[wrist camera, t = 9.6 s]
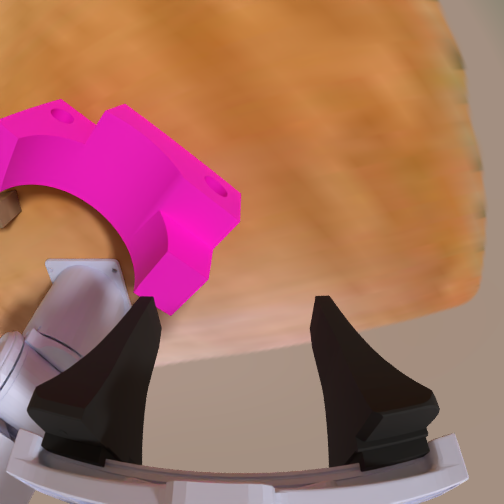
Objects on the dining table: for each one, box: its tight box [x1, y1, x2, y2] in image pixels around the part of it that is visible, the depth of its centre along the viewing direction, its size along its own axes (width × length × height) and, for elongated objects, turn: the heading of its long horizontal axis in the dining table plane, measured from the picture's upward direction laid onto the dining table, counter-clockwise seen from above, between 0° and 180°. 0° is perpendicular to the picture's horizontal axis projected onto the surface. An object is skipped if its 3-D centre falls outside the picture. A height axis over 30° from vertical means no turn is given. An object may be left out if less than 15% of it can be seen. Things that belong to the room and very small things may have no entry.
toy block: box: [0, 99, 241, 316], centre depth 17 cm, size 15×6×8 cm, turn 48°
